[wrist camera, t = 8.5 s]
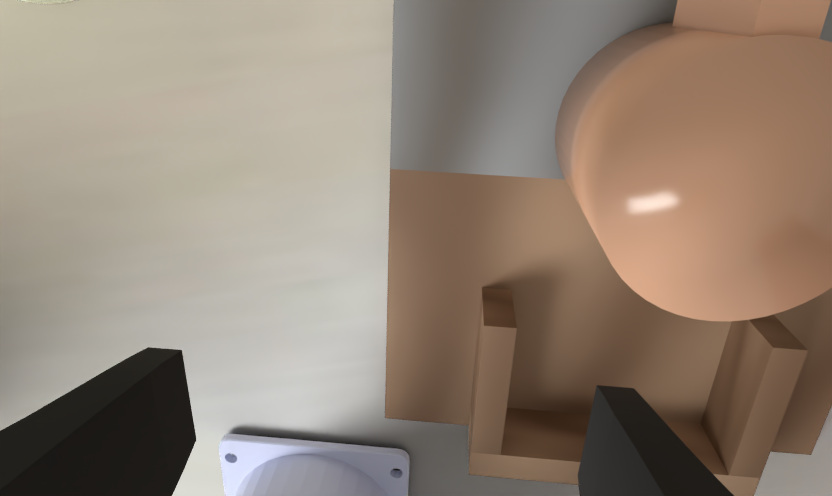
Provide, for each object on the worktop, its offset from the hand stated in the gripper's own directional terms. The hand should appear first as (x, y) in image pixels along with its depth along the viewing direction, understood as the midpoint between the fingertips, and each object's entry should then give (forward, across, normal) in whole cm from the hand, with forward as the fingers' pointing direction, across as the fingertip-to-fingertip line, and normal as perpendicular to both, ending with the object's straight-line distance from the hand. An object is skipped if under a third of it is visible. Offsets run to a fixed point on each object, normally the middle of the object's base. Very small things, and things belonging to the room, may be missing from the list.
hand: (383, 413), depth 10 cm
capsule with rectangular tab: (+10, -7, -5) cm, 13 cm away
